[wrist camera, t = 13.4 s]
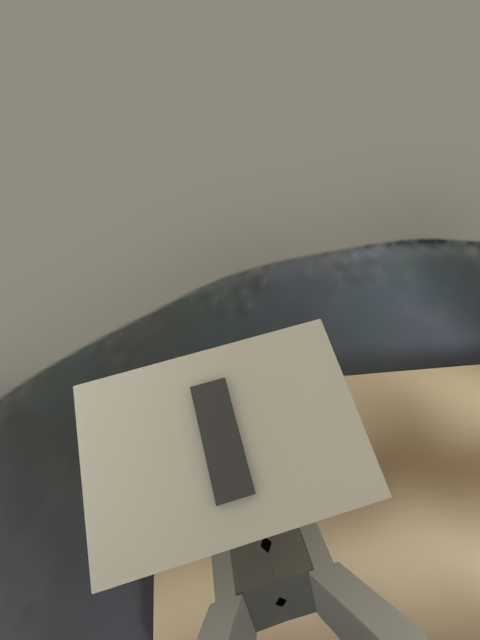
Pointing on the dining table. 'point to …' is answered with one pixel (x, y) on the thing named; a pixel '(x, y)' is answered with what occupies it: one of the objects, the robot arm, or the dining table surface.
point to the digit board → (388, 515)
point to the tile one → (218, 452)
